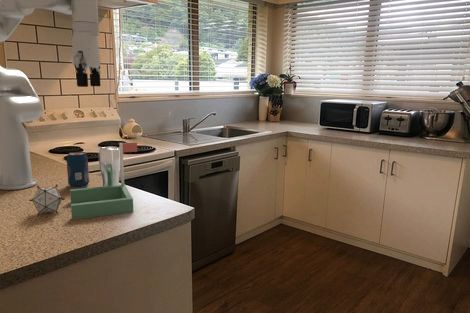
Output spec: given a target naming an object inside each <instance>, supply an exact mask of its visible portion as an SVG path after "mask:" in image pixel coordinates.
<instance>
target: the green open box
mask: <svg viewBox="0 0 470 313" xmlns="http://www.w3.org/2000/svg"><path fill="white" fill-rule="evenodd" d="M118 144H119V150H120V184H119V185H114V186H103V185H102V186H103V187H102V186H95V187H82V188H72V189H69V191H70V192H69V193H70V194H69V195H70V209H71V210H70V211H71V220H79V219H87V218H94V217H95V218H96V217H104V216H105V217H106V216H111V215H120V214H127V213H134V199H133V196H132V195H131V192H130V191H129V189H128V188H127V185H126V184H125V175H124V174H125V173H124V172H125V170H124V168H125V167H124V153H130V152H131V153H132V152H135V153H137V152H138V142H133V141H132V142H119V143H118ZM115 198H116V199H115ZM96 200H97V201H96ZM78 202H79V203H78Z"/></svg>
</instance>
